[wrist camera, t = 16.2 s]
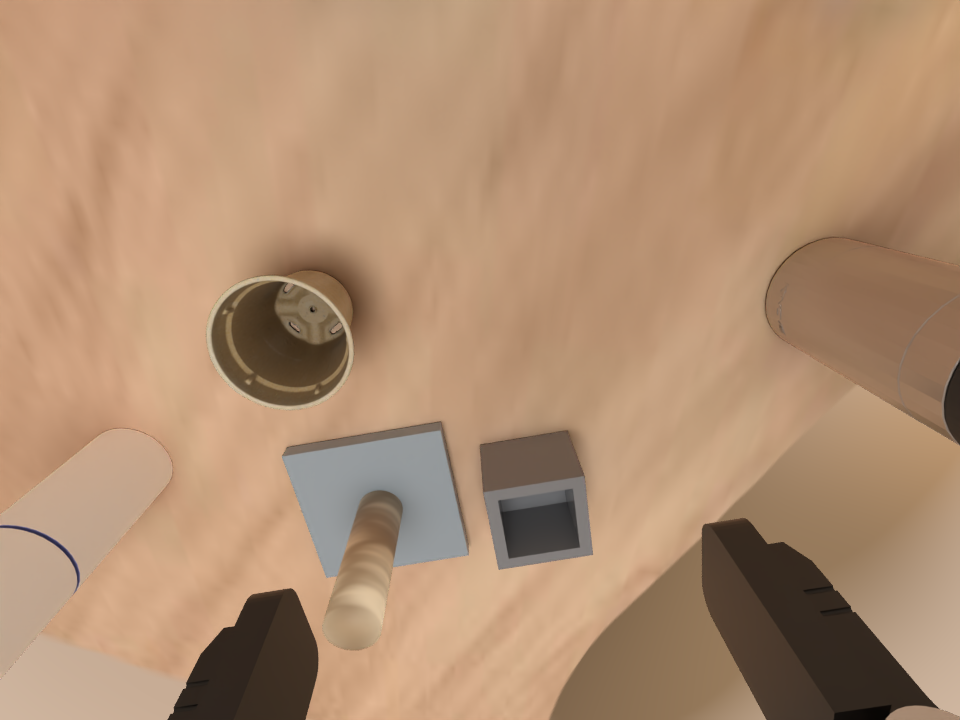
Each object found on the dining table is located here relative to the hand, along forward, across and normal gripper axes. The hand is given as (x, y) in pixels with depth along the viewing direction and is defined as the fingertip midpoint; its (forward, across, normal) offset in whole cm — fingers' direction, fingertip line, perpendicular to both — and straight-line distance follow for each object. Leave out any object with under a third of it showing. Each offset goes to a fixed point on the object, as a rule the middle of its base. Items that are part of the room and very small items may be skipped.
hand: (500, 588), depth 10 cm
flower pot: (+33, +13, +2) cm, 36 cm away
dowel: (+32, +12, +21) cm, 40 cm away
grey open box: (+33, -2, +21) cm, 39 cm away
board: (+33, +12, +21) cm, 41 cm away
